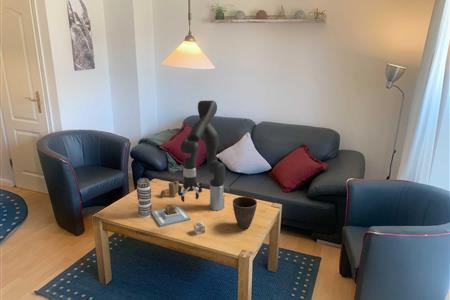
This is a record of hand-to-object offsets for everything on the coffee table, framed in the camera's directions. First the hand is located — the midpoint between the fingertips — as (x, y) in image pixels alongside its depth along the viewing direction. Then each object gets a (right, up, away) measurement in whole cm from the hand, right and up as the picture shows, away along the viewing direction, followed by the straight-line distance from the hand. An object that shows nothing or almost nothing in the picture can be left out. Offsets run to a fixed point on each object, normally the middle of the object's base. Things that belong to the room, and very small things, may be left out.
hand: (190, 200), depth 197 cm
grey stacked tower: (-32, -13, +21) cm, 40 cm away
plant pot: (+33, -17, +9) cm, 38 cm away
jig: (-15, -13, +19) cm, 27 cm away
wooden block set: (-19, -4, +51) cm, 54 cm away
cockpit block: (+6, -19, +1) cm, 20 cm away
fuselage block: (-15, -12, +18) cm, 26 cm away
